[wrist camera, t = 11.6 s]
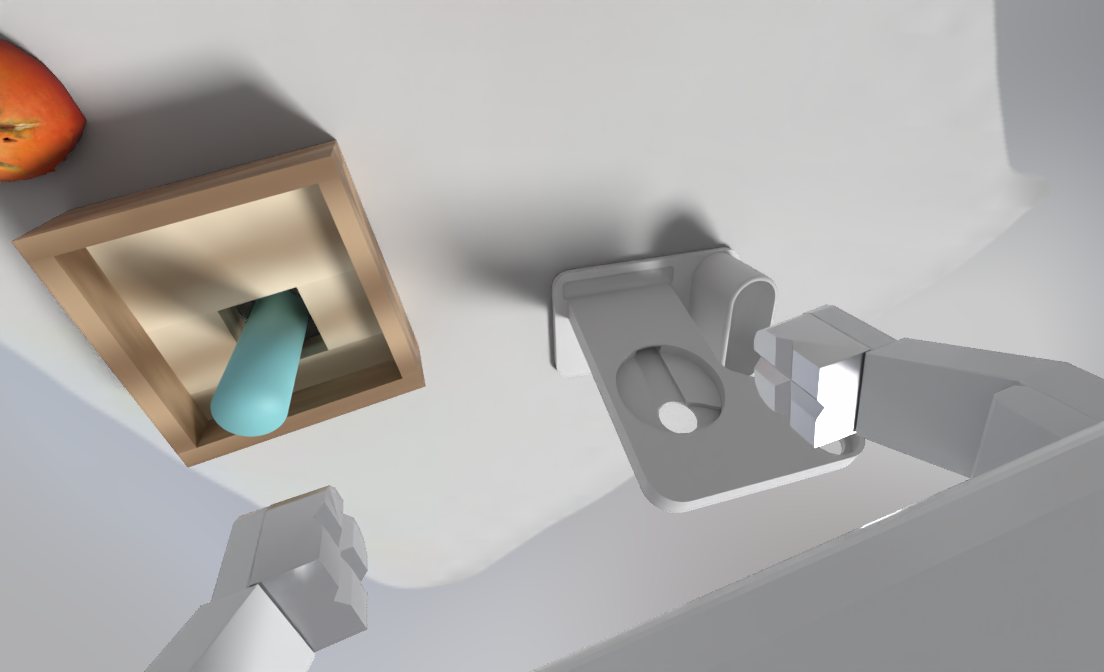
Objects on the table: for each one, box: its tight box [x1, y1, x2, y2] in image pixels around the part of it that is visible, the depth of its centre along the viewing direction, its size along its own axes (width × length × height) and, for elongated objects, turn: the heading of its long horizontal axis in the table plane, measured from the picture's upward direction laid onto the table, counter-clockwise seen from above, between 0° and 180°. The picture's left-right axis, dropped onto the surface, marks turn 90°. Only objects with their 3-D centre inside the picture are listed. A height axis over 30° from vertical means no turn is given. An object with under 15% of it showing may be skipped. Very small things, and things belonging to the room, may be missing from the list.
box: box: [12, 140, 425, 467], centre depth 35 cm, size 16×16×6 cm
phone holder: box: [552, 247, 865, 513], centre depth 40 cm, size 17×10×18 cm, turn 92°
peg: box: [211, 290, 309, 437], centre depth 33 cm, size 4×4×12 cm
